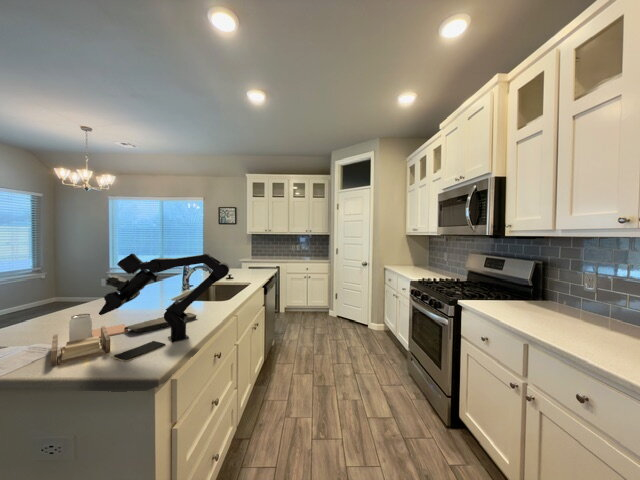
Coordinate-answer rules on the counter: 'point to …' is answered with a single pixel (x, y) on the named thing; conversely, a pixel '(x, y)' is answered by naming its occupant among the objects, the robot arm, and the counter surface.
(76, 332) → the can
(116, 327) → the tile
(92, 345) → the rack
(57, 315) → the counter surface
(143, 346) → the smartphone
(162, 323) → the stone slab
